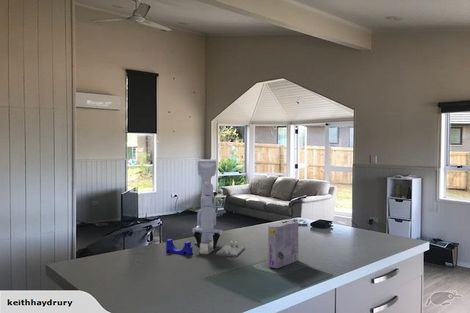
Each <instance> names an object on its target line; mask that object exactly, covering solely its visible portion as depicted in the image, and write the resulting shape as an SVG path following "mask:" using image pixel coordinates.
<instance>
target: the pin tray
mask: <svg viewBox="0 0 470 313" xmlns="http://www.w3.org/2000/svg"><path fill="white" fill-rule="evenodd" d="M245 249H246V248H245V246H243V245H239V241H237V240H236V241H235V245H234V241H233V240H231V241H230V245H229V244H228V245H227V244H225V245H224V246H223V247H222V248H220V249H219V250H218V251H216V252H215V256H222V257H231V258H232V257H234V258H235V257H238V256H239V255H240V254H241V252H243V251H244V250H245Z"/></svg>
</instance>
